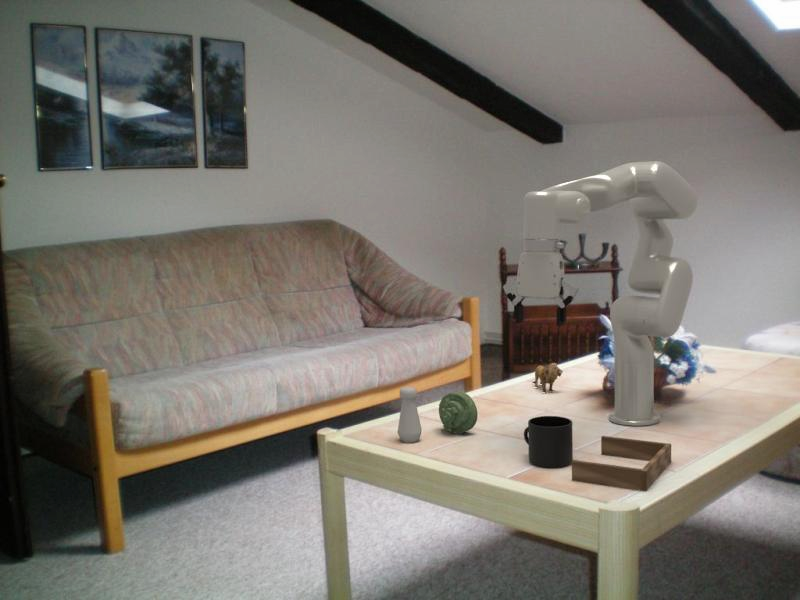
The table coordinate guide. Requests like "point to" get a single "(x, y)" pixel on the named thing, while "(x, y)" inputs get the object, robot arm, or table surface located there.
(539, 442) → the mug
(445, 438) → the table surface
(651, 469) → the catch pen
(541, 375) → the lion figurine
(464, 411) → the decorative artifact
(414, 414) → the salt shaker
